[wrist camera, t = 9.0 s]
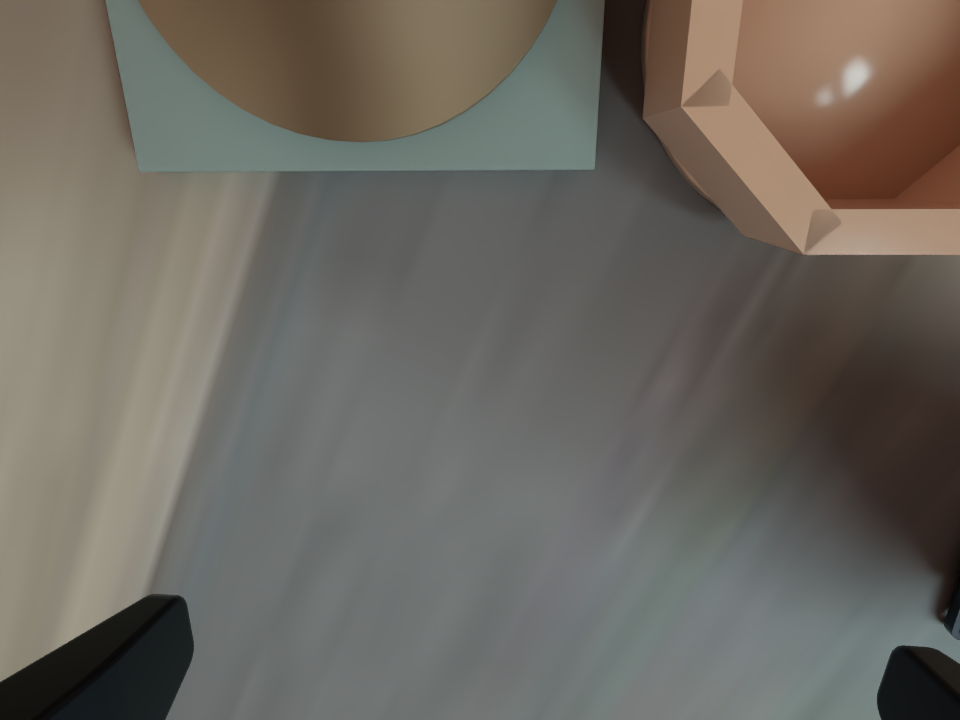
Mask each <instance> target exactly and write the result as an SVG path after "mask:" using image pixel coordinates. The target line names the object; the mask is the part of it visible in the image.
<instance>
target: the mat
mask: <svg viewBox="0 0 960 720" xmlns="http://www.w3.org/2000/svg"><path fill="white" fill-rule="evenodd" d="M105 1H106V6H107V11H108V16H109V21H110V27H111V32H112V37H113V42H114V47H115V52H116V57H117V62H118V67H119V72H120V77H121V82H122V87H123V92H124V97H125V102H126V107H127V113H128V118H129V123H130V128H131V133H132V138H133V143H134V148H135V153H136V158H137V163H138V168H139V172H238V171H434V170H595V156H596V139H597V122H598V106H599V89H600V72H601V55H602V38H603V22H604V5H605V0H557V2H556V4H555V7H554V9H553V11H552V13H551V15H550V17H549V20H548V21H547V23H546V25H545V26H544V28H543V30H542V31H541V33H540V35H539V36H538V38H537V39H536V41H535V43H534V44H533V46H532V48H531V49H530V50H529V52H528V53H527V54H526V55H525V57H524V58H523V59H522V60H521V62H520V63H519V64H518V65H517V67H516V68H515V69H514V70H513V72H512V73H511V74H510V75H509V76H508V77H507V78H506V79H505V80H504V81H503V82H502V83H501V84H500V85H499V86H498V87H497V88H496V89H494V90H493V91H492V92H491V93H490V94H489V95H488V96H486V97H485V98H484V99H482V100H481V101H480V102H478V103H477V104H476V105H474V106H473V107H472V108H470V109H469V110H468V111H466V112H464V113H463V114H461V115H459V116H457V117H455V118H453V119H452V120H450V121H448V122H446V123H444V124H443V125H440V126H438V127H435V128H432V129H430V130H427V131H424V132H422V133H419V134H416V135H412V136H408V137H403V138H399V139H394V140H389V141H376V142H347V141H334V140H326V139H322V138H317V137H312V136H307V135H302V134H298V133H295V132H292V131H290V130H287V129H284V128H281V127H278V126H275V125H272V124H270V123H268V122H266V121H264V120H262V119H260V118H258V117H256V116H254V115H252V114H250V113H248V112H246V111H244V110H243V109H241V108H240V107H238V106H237V105H235V104H234V103H232V102H231V101H229V100H228V99H226V98H225V97H223V96H222V95H220V94H219V93H218V92H216V91H215V90H214V89H213V88H212V87H210V86H209V85H208V84H207V83H206V82H205V81H203V80H202V79H201V78H200V77H199V76H198V75H196V74H195V73H194V72H193V71H192V70H191V69H190V68H189V67H188V66H187V65H186V63H185V62H184V61H183V60H182V59H181V58H180V57H179V56H178V55H177V54H176V53H175V52H174V51H173V50H172V48H171V47H170V46H169V45H168V43H167V42H166V41H165V39H164V38H163V37H162V35H161V34H160V33H159V31H158V30H157V29H156V27H155V26H154V25H153V23H152V22H151V21H150V19H149V18H148V16H147V14H146V13H145V11H144V9H143V8H142V6H141V4H140V3H139V1H138V0H105Z"/></svg>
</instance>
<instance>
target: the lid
mask: <svg viewBox="0 0 960 720" xmlns="http://www.w3.org/2000/svg"><path fill="white" fill-rule="evenodd" d="M138 1H139V3H140V4H141V6H142V8H143V9H144V11H145V13H146V14H147V16H148V18H149V19H150V21H151V22H152V23H153V25H154V26H155V27H156V29H157V30H158V31H159V33H160V34H161V35H162V37H163V38H164V39H165V41H166V42H167V43H168V45H169V46H170V47H171V48H172V50H173V51H174V52H175V53H176V54H177V55H178V56H179V57H180V58H181V59H182V60H183V61H184V62H185V63H186V65H187V66H188V67H189V68H190V69H191V70H192V71H193V72H194V73H195V74H196V75H198V76H199V77H200V78H201V79H202V80H203V81H205V82H206V83H207V84H208V85H209V86H210V87H212V88H213V89H214V90H215V91H216V92H218V93H219V94H220V95H222V96H223V97H225V98H226V99H228V100H229V101H231V102H232V103H234V104H235V105H237V106H238V107H240V108H241V109H243V110H244V111H246V112H248V113H250V114H252V115H254V116H256V117H258V118H260V119H262V120H264V121H266V122H268V123H270V124H272V125H275V126H278V127H281V128H284V129H287V130H290V131H292V132H295V133H298V134H302V135H307V136H312V137H317V138H322V139H326V140H334V141H347V142H376V141H389V140H394V139H399V138H403V137H408V136H412V135H416V134H419V133H422V132H424V131H427V130H430V129H432V128H435V127H438V126H440V125H443V124H444V123H446V122H448V121H450V120H452V119H453V118H455V117H457V116H459V115H461V114H463V113H464V112H466V111H468V110H469V109H470V108H472V107H473V106H474V105H476V104H477V103H478V102H480V101H481V100H482V99H484V98H485V97H486V96H488V95H489V94H490V93H491V92H492V91H493V90H494V89H496V88H497V87H498V86H499V85H500V84H501V83H502V82H503V81H504V80H505V79H506V78H507V77H508V76H509V75H510V74H511V73H512V72H513V70H514V69H515V68H516V67H517V65H518V64H519V63H520V62H521V60H522V59H523V58H524V57H525V55H526V54H527V53H528V52H529V50H530V49H531V48H532V46H533V44H534V43H535V41H536V39H537V38H538V36H539V35H540V33H541V31H542V30H543V28H544V26H545V25H546V23H547V21H548V20H549V17H550V15H551V13H552V11H553V9H554V7H555V4H556V2H557V0H138Z"/></svg>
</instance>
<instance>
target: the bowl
mask: <svg viewBox="0 0 960 720" xmlns="http://www.w3.org/2000/svg"><path fill="white" fill-rule="evenodd" d="M641 68H642V78H643V88H644V93H645V96H644V108H643V119H644V121H645V122H646V123H647V124H648V125H649V126H650V128H651V129H652V130H653V131H654V132H655V133H656V135H657V136H658V139H659V140H660V142H661V144H662V146H663V148H664V150H665V152H666V153H667V155H668V157H669V159H670V160H671V162H672V163H673V164H674V166H675V167H676V168H677V170H678V171H679V172H680V174H681V175H682V177H683V178H684V179H685V180H686V181H687V182H688V183H689V184H690V185H691V186H692V187H693V188H694V189H695V190H696V191H697V192H698V193H699V194H700V195H702V196H703V197H704V198H706V199H707V200H708V201H710V202H711V203H713V204H714V205H715V206H717V207H718V208H720V210H721V211H722V212H723V213H724V214H725V215H726V217H727V218H728V219H729V220H730V221H731V222H732V224H733V225H734V226H735V227H736V228H737V229H738V231H739V232H740V233H741V234H742V235H743V236H746V237H749V238H752V239H755V240H758V241H762V242H765V243H768V244H771V245H774V246H777V247H781V248H784V249H787V250H790V251H793V252H796V253H800V254H803V255H960V0H647V1H646V5H645V12H644V19H643V26H642V34H641Z"/></svg>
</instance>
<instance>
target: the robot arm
mask: <svg viewBox="0 0 960 720" xmlns="http://www.w3.org/2000/svg"><path fill="white" fill-rule="evenodd" d="M944 626H945V628H946V630H947V631H948V632H949V633H950V634H951V635H952V636H953V637H954V638H956V639H957V640H960V578H959V581H958V584H957V587H956V590H955V593H954V595H953V598H952V601H951V604H950V607H949V610H948V613H947V616H946V619H945V622H944ZM193 651H194V641H193V635H192V630H191V624H190V619H189V613H188V608H187V603H186V601H185V600H184V598H183V597H181V596H179V595H166V594H151V595H148V596H146V597H144V598H142V599H141V600H139V601H137V602H136V603H134V604H132V605H131V606H129V607H127V608H125V609H124V610H122V611H120V612H119V613H117V614H115V615H114V616H112V617H110V618H108V619H107V620H105V621H103V622H102V623H100V624H98V625H96V626H95V627H93V628H91V629H90V630H88V631H86V632H85V633H83V634H81V635H79V636H78V637H76V638H74V639H73V640H71V641H69V642H68V643H66V644H64V645H62V646H61V647H59V648H57V649H56V650H54V651H52V652H51V653H49V654H47V655H45V656H44V657H42V658H40V659H39V660H37V661H35V662H33V663H32V664H30V665H28V666H27V667H25V668H23V669H22V670H20V671H18V672H16V673H15V674H13V675H11V676H10V677H8V678H6V679H5V680H3V681H1V682H0V720H165V719H166V717H167V715H168V713H169V710H170V708H171V706H172V704H173V701H174V699H175V697H176V695H177V692H178V690H179V688H180V686H181V683H182V681H183V679H184V677H185V675H186V672H187V670H188V668H189V665H190V663H191V660H192V657H193ZM877 706H878V711H879V714H880V717H881V720H960V664H959V663H957V662H956V661H954V660H953V659H951V658H950V657H948V656H947V655H945V654H943V653H942V652H940V651H938V650H936V649H933V648H929V647H918V646H898V647H896V648H895V649H894V650H893V651H892V653H891V655H890V658H889V660H888V663H887V666H886V669H885V672H884V675H883V678H882V681H881V684H880V687H879V690H878V693H877Z"/></svg>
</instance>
